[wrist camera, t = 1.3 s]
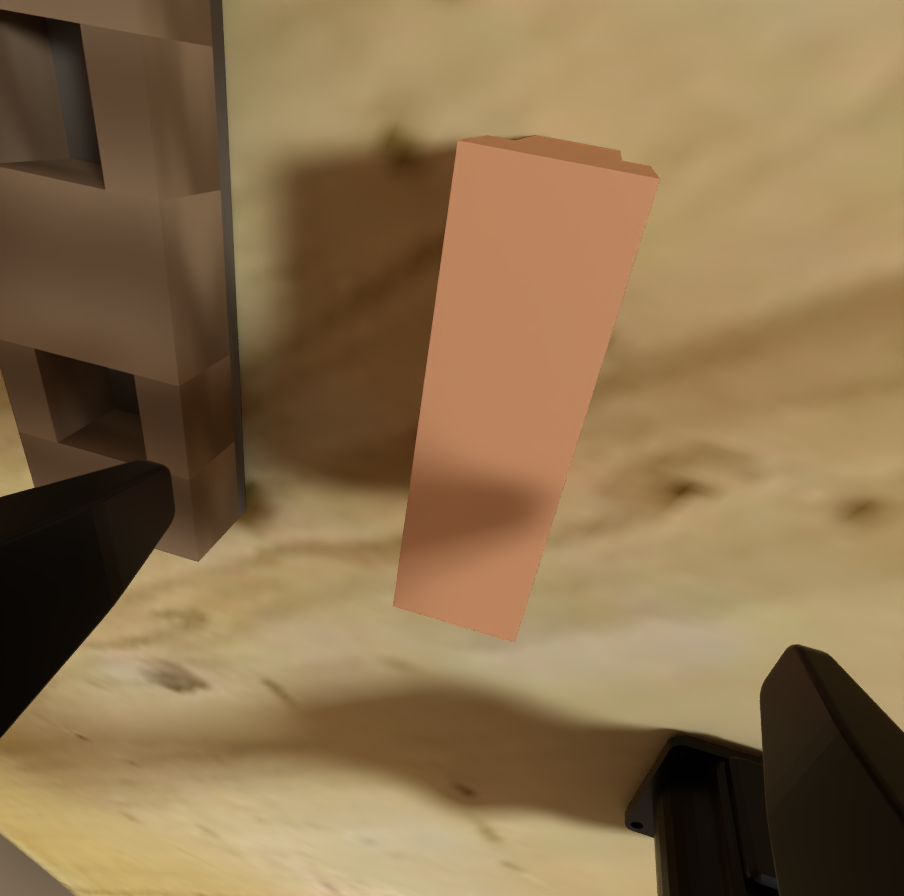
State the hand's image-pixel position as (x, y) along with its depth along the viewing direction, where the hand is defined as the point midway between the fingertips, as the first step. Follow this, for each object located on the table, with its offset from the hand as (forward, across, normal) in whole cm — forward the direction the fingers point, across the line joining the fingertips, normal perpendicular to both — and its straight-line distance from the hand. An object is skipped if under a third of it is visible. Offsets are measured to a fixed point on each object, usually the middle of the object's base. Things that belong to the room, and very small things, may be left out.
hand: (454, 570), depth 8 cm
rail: (+9, +12, 0) cm, 15 cm away
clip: (+9, 0, 0) cm, 9 cm away
